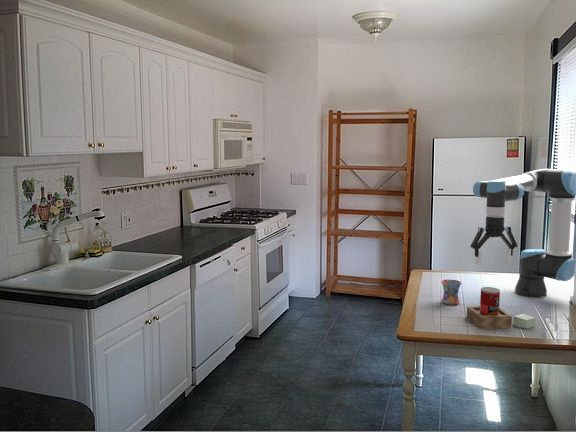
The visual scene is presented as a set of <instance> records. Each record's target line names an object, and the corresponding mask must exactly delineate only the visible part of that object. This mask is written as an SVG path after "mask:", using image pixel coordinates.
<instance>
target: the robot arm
mask: <svg viewBox="0 0 576 432" xmlns="http://www.w3.org/2000/svg"><path fill="white" fill-rule="evenodd" d="M525 192H540V193H546V194H548V199H550V200H551V214H550V230H549V248H548V249H547V250H546V249H544V248H543V249H541V248H533V249H532V248H531V249H524V250H522V251H521V252H520V258H519V277H518V280H517V282H516V284H515V287H514V293H515V294H517V295H519V296H523V297H526V298H527V297H528V298H544V297H546V296H547V295H548V291H547V287H546V284H545V278H548V279H552V280H556V281H561V282H568V281H569V280H571V279H572V278H573V277H574V276H573V274H574V266H575V264H576V259H575V258H573V253H572V252H571V250H570V236H571V220H572V207H573V206H572V203H573V201H574V200H575V199H576V170H571V169H562V168H561V169H559V168H558V169H556V168H554V169H553V168H541V169H536V170H532V171H526V172H523V173H522V174H521V175H516V176H509V177H504V178H499V179H494V180H488V181H485V180H480V181H479V180H478V181H475V182H474V184H473V187H472V194H473V195H474V196H475V197H477V198H481V199H482V198H483V199H486V207H485V208H486V209H485V214H486V216H485V227H481V226H479V227H478V228H477V232H476V234H475V236H474V238H473V240H472V242H471V244H470V246H469V247H470V248H471V249H474V257H476V258H475V259H476V261H475V264H477V265H481V257H482V256H481V254H482V250H481V247H482V246H483V245H484V244H485V243H486V242H487V240H488V239H490V238H499V237H500V239H501V240H502V241H503V242H504V243H505V245H506V246H507V247H506V252H505V253H506V256H505V257H506V258H505V263H507V264H509V265H510V264H511V260H512V259H511V258H512V257H511V256H514V255H513V254H514V249H515V248H518V243H517V242H516V240H515V237H514V235H513V232H512V227H511V226H509V225H506V226H504V225H505V214H506V213H505V212H506V211H505V210H506V209H505V208H506V202H511V201H513V202H514V201H518V200H521V198H523V196H524V195H525ZM504 231H505V232H506V235H507V236H508V238H507V237H506V235H505V234H504ZM484 232H485V233H484ZM574 275H575V274H574Z"/></svg>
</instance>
